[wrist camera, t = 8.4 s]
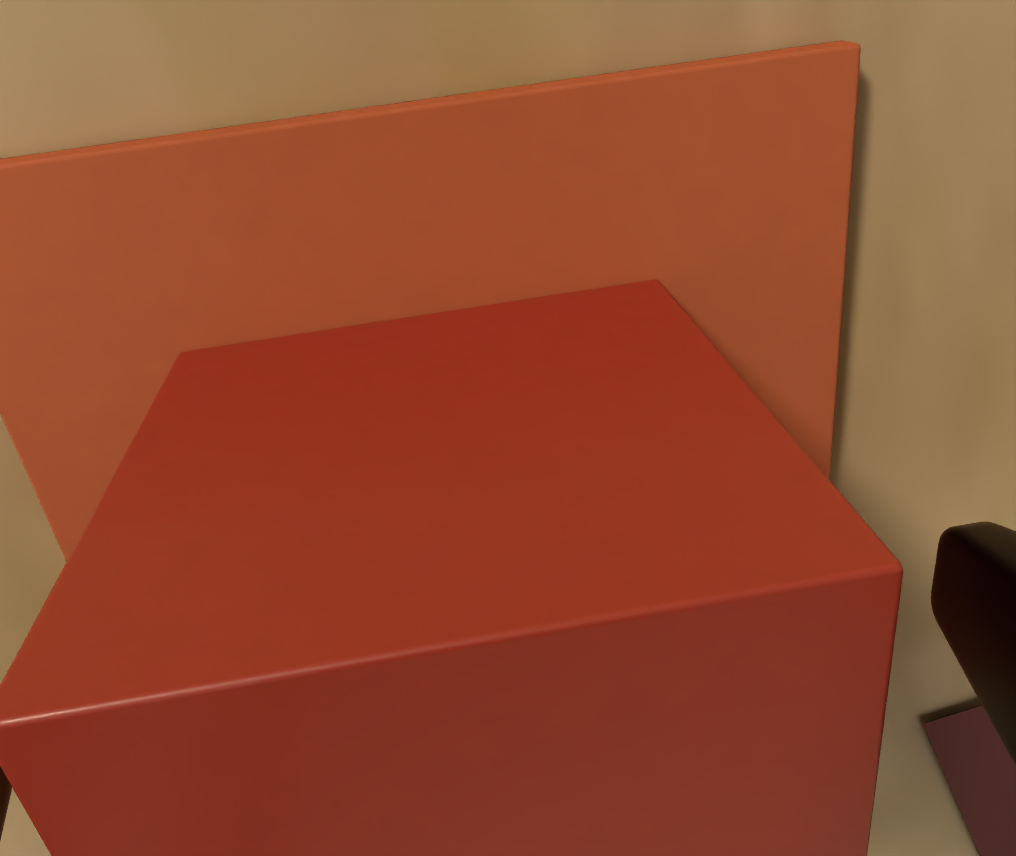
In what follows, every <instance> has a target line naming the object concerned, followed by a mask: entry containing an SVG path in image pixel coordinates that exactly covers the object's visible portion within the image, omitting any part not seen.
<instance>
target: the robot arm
mask: <svg viewBox="0 0 1016 856" xmlns="http://www.w3.org/2000/svg"><path fill="white" fill-rule="evenodd" d="M931 605H932V609H933V613H934V616H935V619H936V621H937V623H938V625H939V627H940V629H941V630H942V632H943V634H944V636H945V638H946V640H947V641H948V643H949V645H950V647H951V649H952V651H953V653H954V654H955V656H956V658H957V660H958V662H959V664H960V665H961V667H962V669H963V671H964V673H965V675H966V677H967V678H968V680H969V682H970V684H971V686H972V688H973V689H974V691H975V693H976V695H977V697H978V699H979V701H980V702H981V704H982V706H983V708H984V710H985V712H986V713H987V715H988V717H989V719H990V721H991V723H992V724H993V726H994V728H995V730H996V732H997V734H998V736H999V737H1000V739H1001V741H1002V743H1003V744H1004V746H1005V748H1006V749H1007V751H1008V753H1009V755H1010V756H1011V758H1012V760H1013V762H1014V763H1015V765H1016V531H1013V530H1011V529H1008V528H1006V527H1003V526H1001V525H998V524H995V523H992V522H977V523H971V524H965V525H959V526H953V527H950V528H948V529H946V530H945V531H944V532H943V533H942V535H941V537H940V540H939V544H938V550H937V557H936V564H935V570H934V577H933V584H932V590H931ZM11 790H12V786H11V784H10V782H9V780H8V779H7V777H6V775H5V773H4V772H3V770H2V768H1V766H0V840H1V835H2V831H3V826H4V822H5V817H6V813H7V808H8V804H9V799H10V795H11Z"/></svg>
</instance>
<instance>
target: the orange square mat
mask: <svg viewBox="0 0 1016 856" xmlns="http://www.w3.org/2000/svg"><path fill="white" fill-rule="evenodd" d="M860 49H861V48H860V45H859V44H857V43H852V42H846V41H835V42H828V43H821V44H814V45H807V46H800V47H793V48H786V49H778V50H771V51H764V52H757V53H750V54H743V55H736V56H729V57H722V58H714V59H707V60H700V61H693V62H686V63H679V64H672V65H665V66H658V67H650V68H643V69H636V70H629V71H622V72H615V73H608V74H601V75H594V76H587V77H579V78H572V79H565V80H558V81H551V82H544V83H537V84H530V85H523V86H515V87H508V88H501V89H494V90H487V91H480V92H473V93H466V94H459V95H451V96H444V97H437V98H430V99H423V100H416V101H409V102H402V103H395V104H387V105H380V106H373V107H366V108H359V109H352V110H345V111H338V112H331V113H324V114H316V115H309V116H302V117H295V118H288V119H281V120H274V121H267V122H260V123H252V124H245V125H238V126H231V127H224V128H217V129H210V130H203V131H196V132H188V133H181V134H174V135H167V136H160V137H153V138H146V139H139V140H132V141H124V142H117V143H110V144H103V145H96V146H89V147H82V148H75V149H68V150H61V151H53V152H46V153H39V154H32V155H25V156H18V157H11V158H4V159H0V414H1V416H2V418H3V421H4V423H5V425H6V427H7V430H8V432H9V434H10V436H11V438H12V441H13V443H14V445H15V447H16V450H17V452H18V454H19V456H20V459H21V461H22V463H23V465H24V468H25V470H26V472H27V474H28V476H29V479H30V481H31V483H32V485H33V488H34V490H35V492H36V494H37V497H38V499H39V501H40V503H41V506H42V508H43V510H44V512H45V514H46V517H47V519H48V521H49V523H50V526H51V528H52V530H53V532H54V535H55V537H56V539H57V541H58V544H59V546H60V548H61V550H62V552H63V555H64V557H65V559H66V561H67V560H68V559H69V557H70V555H71V553H72V551H73V549H74V547H75V546H76V544H77V542H78V540H79V538H80V536H81V534H82V533H83V531H84V529H85V527H86V525H87V523H88V521H89V520H90V518H91V516H92V514H93V512H94V510H95V508H96V507H97V505H98V503H99V501H100V499H101V497H102V495H103V494H104V492H105V490H106V488H107V486H108V484H109V483H110V481H111V479H112V477H113V475H114V473H115V471H116V470H117V468H118V466H119V464H120V462H121V460H122V458H123V457H124V455H125V453H126V451H127V449H128V447H129V445H130V444H131V442H132V440H133V438H134V436H135V434H136V432H137V431H138V429H139V427H140V425H141V423H142V421H143V419H144V418H145V416H146V414H147V412H148V410H149V408H150V406H151V405H152V403H153V401H154V399H155V397H156V395H157V393H158V392H159V390H160V388H161V386H162V384H163V382H164V380H165V379H166V377H167V375H168V373H169V371H170V369H171V367H172V366H173V364H174V362H175V360H176V358H177V356H178V354H179V353H181V352H185V351H191V350H198V349H204V348H211V347H217V346H224V345H230V344H237V343H243V342H250V341H256V340H263V339H270V338H276V337H283V336H289V335H296V334H302V333H309V332H315V331H322V330H328V329H335V328H341V327H348V326H354V325H361V324H367V323H374V322H380V321H387V320H393V319H400V318H406V317H413V316H419V315H426V314H432V313H439V312H446V311H452V310H459V309H465V308H472V307H478V306H485V305H491V304H498V303H504V302H511V301H517V300H524V299H530V298H537V297H543V296H550V295H556V294H563V293H569V292H576V291H582V290H589V289H595V288H602V287H608V286H615V285H622V284H628V283H635V282H641V281H648V280H654V279H656V280H659V281H660V282H661V284H662V285H663V286H664V287H665V288H666V289H667V291H668V292H669V293H670V294H671V295H672V296H673V298H674V299H675V300H676V301H677V302H678V303H679V305H680V306H681V307H682V308H683V309H684V310H685V312H686V313H687V314H688V315H689V316H690V317H691V319H692V320H693V321H694V322H695V323H696V324H697V326H698V327H699V328H700V329H701V330H702V332H703V333H704V334H705V335H706V336H707V337H708V339H709V340H710V341H711V342H712V343H713V344H714V346H715V347H716V348H717V349H718V350H719V351H720V353H721V354H722V355H723V356H724V357H725V358H726V360H727V361H728V362H729V363H730V364H731V365H732V367H733V368H734V369H735V370H736V371H737V372H738V374H739V375H740V376H741V377H742V378H743V379H744V381H745V382H746V383H747V384H748V385H749V386H750V388H751V389H752V390H753V391H754V392H755V393H756V395H757V396H758V397H759V398H760V399H761V400H762V402H763V403H764V404H765V405H766V406H767V407H768V409H769V410H770V411H771V412H772V413H773V414H774V416H775V417H776V418H777V419H778V420H779V421H780V423H781V424H782V425H783V426H784V427H785V428H786V430H787V431H788V432H789V433H790V434H791V435H792V437H793V438H794V439H795V440H796V441H797V443H798V444H799V445H800V446H801V447H802V448H803V450H804V451H805V452H806V453H807V454H808V455H809V457H810V458H811V459H812V460H813V461H814V462H815V464H816V465H817V466H818V467H819V468H820V469H821V471H822V472H823V473H824V474H825V475H826V476H827V478H828V479H829V480H830V466H831V452H832V438H833V424H834V410H835V396H836V382H837V369H838V355H839V341H840V327H841V313H842V299H843V285H844V271H845V257H846V243H847V229H848V216H849V202H850V188H851V174H852V160H853V146H854V132H855V118H856V104H857V90H858V77H859V63H860Z"/></svg>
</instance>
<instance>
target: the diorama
mask: <svg viewBox="0 0 1016 856" xmlns="http://www.w3.org/2000/svg"><path fill="white" fill-rule="evenodd" d="M923 725H924V728H925V730H926V732H927V735H928V737H929V739H930V742H931V744H932V746H933V749H934V751H935V753H936V755H937V758H938V760H939V762H940V765H941V767H942V769H943V772H944V774H945V776H946V779H947V781H948V783H949V786H950V788H951V790H952V792H953V795H954V797H955V799H956V802H957V804H958V806H959V809H960V811H961V813H962V816H963V818H964V820H965V823H966V825H967V827H968V829H969V832H970V834H971V836H972V839H973V841H974V843H975V846H976V848H977V850H978V853H979V855H980V856H1016V765H1015V763H1014V762H1013V760H1012V758H1011V756H1010V755H1009V753H1008V751H1007V749H1006V748H1005V746H1004V744H1003V743H1002V741H1001V739H1000V737H999V736H998V734H997V732H996V730H995V728H994V726H993V724H992V723H991V721H990V719H989V717H988V715H987V713H986V712H985V710H984V708H983V706H979V707H976V708H973V709H969V710H966V711H963V712H960V713H957V714H954V715H950V716H947V717H944V718H941V719H938V720H935V721H932V722H928V723H925V724H923Z"/></svg>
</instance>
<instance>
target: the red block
mask: <svg viewBox="0 0 1016 856" xmlns="http://www.w3.org/2000/svg"><path fill="white" fill-rule="evenodd" d="M902 577H903V568H902V565H901V563H900V562H899V561H898V559H897V558H896V557H895V556H894V555H893V554H892V552H891V551H890V550H889V549H888V548H887V547H886V545H885V544H884V543H883V542H882V541H881V539H880V538H879V537H878V536H877V535H876V534H875V532H874V531H873V530H872V529H871V528H870V527H869V525H868V524H867V523H866V522H865V521H864V520H863V518H862V517H861V516H860V515H859V514H858V513H857V511H856V510H855V509H854V508H853V507H852V506H851V504H850V503H849V502H848V501H847V500H846V499H845V497H844V496H843V495H842V494H841V493H840V492H839V490H838V489H837V488H836V487H835V486H834V485H833V483H832V482H831V481H830V480H829V479H828V478H827V476H826V475H825V474H824V473H823V472H822V471H821V469H820V468H819V467H818V466H817V465H816V464H815V462H814V461H813V460H812V459H811V458H810V457H809V455H808V454H807V453H806V452H805V451H804V450H803V448H802V447H801V446H800V445H799V444H798V443H797V441H796V440H795V439H794V438H793V437H792V435H791V434H790V433H789V432H788V431H787V430H786V428H785V427H784V426H783V425H782V424H781V423H780V421H779V420H778V419H777V418H776V417H775V416H774V414H773V413H772V412H771V411H770V410H769V409H768V407H767V406H766V405H765V404H764V403H763V402H762V400H761V399H760V398H759V397H758V396H757V395H756V393H755V392H754V391H753V390H752V389H751V388H750V386H749V385H748V384H747V383H746V382H745V381H744V379H743V378H742V377H741V376H740V375H739V374H738V372H737V371H736V370H735V369H734V368H733V367H732V365H731V364H730V363H729V362H728V361H727V360H726V358H725V357H724V356H723V355H722V354H721V353H720V351H719V350H718V349H717V348H716V347H715V346H714V344H713V343H712V342H711V341H710V340H709V339H708V337H707V336H706V335H705V334H704V333H703V332H702V330H701V329H700V328H699V327H698V326H697V324H696V323H695V322H694V321H693V320H692V319H691V317H690V316H689V315H688V314H687V313H686V312H685V310H684V309H683V308H682V307H681V306H680V305H679V303H678V302H677V301H676V300H675V299H674V298H673V296H672V295H671V294H670V293H669V292H668V291H667V289H666V288H665V287H664V286H663V285H662V284H661V282H660V281H659V280H656V279H654V280H648V281H641V282H635V283H628V284H622V285H615V286H608V287H602V288H595V289H589V290H582V291H576V292H569V293H563V294H556V295H550V296H543V297H537V298H530V299H524V300H517V301H511V302H504V303H498V304H491V305H485V306H478V307H472V308H465V309H459V310H452V311H446V312H439V313H432V314H426V315H419V316H413V317H406V318H400V319H393V320H387V321H380V322H374V323H367V324H361V325H354V326H348V327H341V328H335V329H328V330H322V331H315V332H309V333H302V334H296V335H289V336H283V337H276V338H270V339H263V340H256V341H250V342H243V343H237V344H230V345H224V346H217V347H211V348H204V349H198V350H191V351H185V352H181V353H179V354H178V356H177V358H176V360H175V362H174V364H173V366H172V367H171V369H170V371H169V373H168V375H167V377H166V379H165V380H164V382H163V384H162V386H161V388H160V390H159V392H158V393H157V395H156V397H155V399H154V401H153V403H152V405H151V406H150V408H149V410H148V412H147V414H146V416H145V418H144V419H143V421H142V423H141V425H140V427H139V429H138V431H137V432H136V434H135V436H134V438H133V440H132V442H131V444H130V445H129V447H128V449H127V451H126V453H125V455H124V457H123V458H122V460H121V462H120V464H119V466H118V468H117V470H116V471H115V473H114V475H113V477H112V479H111V481H110V483H109V484H108V486H107V488H106V490H105V492H104V494H103V495H102V497H101V499H100V501H99V503H98V505H97V507H96V508H95V510H94V512H93V514H92V516H91V518H90V520H89V521H88V523H87V525H86V527H85V529H84V531H83V533H82V534H81V536H80V538H79V540H78V542H77V544H76V546H75V547H74V549H73V551H72V553H71V555H70V557H69V559H68V560H67V562H66V564H65V566H64V568H63V570H62V572H61V573H60V575H59V577H58V579H57V581H56V583H55V585H54V586H53V588H52V590H51V592H50V594H49V596H48V598H47V599H46V601H45V603H44V605H43V607H42V609H41V611H40V612H39V614H38V616H37V618H36V620H35V622H34V624H33V625H32V627H31V629H30V631H29V633H28V635H27V637H26V638H25V640H24V642H23V644H22V646H21V648H20V650H19V651H18V653H17V655H16V657H15V659H14V661H13V663H12V664H11V666H10V668H9V670H8V672H7V674H6V676H5V677H4V679H3V681H2V683H1V685H0V766H1V768H2V770H3V772H4V773H5V775H6V777H7V779H8V780H9V782H10V784H11V786H12V787H13V789H14V791H15V793H16V794H17V796H18V798H19V800H20V801H21V803H22V805H23V807H24V808H25V810H26V812H27V814H28V815H29V817H30V819H31V821H32V822H33V824H34V826H35V827H36V829H37V831H38V833H39V834H40V836H41V838H42V840H43V841H44V843H45V845H46V847H47V848H48V850H49V852H50V854H51V855H52V856H867V852H868V844H869V836H870V828H871V820H872V812H873V805H874V797H875V789H876V781H877V773H878V765H879V757H880V750H881V742H882V734H883V726H884V718H885V710H886V702H887V695H888V687H889V679H890V671H891V663H892V655H893V647H894V639H895V632H896V624H897V616H898V608H899V600H900V592H901V584H902Z"/></svg>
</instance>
